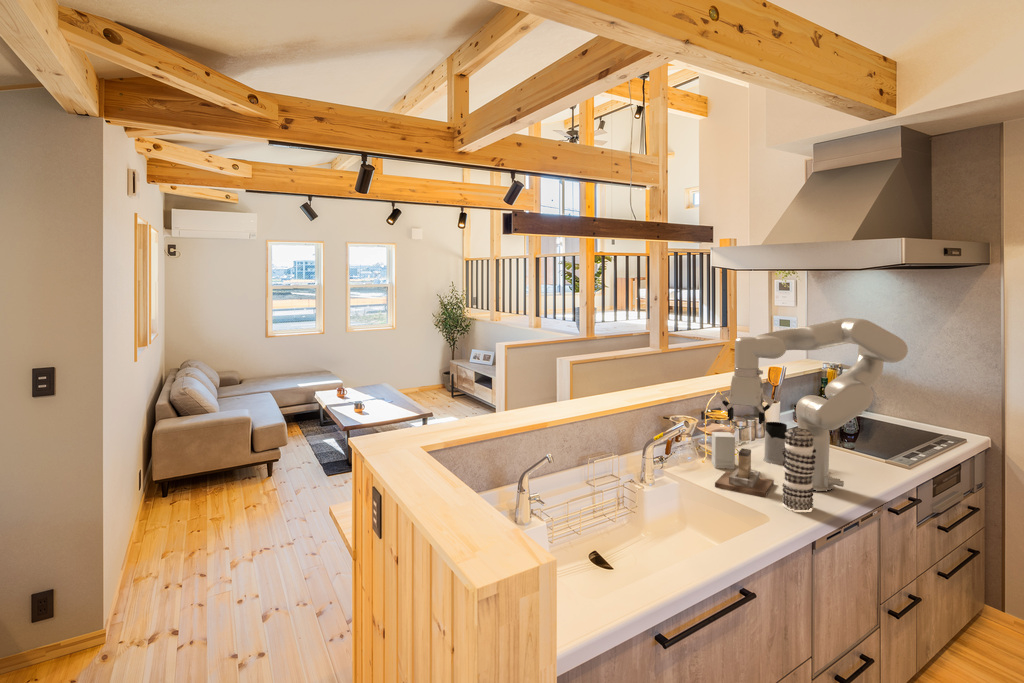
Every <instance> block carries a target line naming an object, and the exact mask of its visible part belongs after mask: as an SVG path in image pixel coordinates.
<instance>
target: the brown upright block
mask: <svg viewBox="0 0 1024 683" xmlns="http://www.w3.org/2000/svg"><path fill="white" fill-rule="evenodd" d="M737 464H738V465H737V466H738V467H737V468H738V477H740V478H745V479H749V478H750V477H751V470H752V469H751V468H752V449H749V448H748V449H747V448H740V450H739V451H738V463H737Z"/></svg>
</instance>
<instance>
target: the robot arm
mask: <svg viewBox="0 0 1024 683" xmlns="http://www.w3.org/2000/svg"><path fill="white" fill-rule="evenodd" d="M847 344H852V345H857V348H858V350H857V353H858V354H857V360H856V361H855V363H854V364H853V365H852V366H851V367H850V368H848V369H847V370H846V371H844V372H843V373H841V374H840V375H838V376H837V377H836V378H834V379H832V380H831V381H830V382H828V383H827V385H826V386H825V388H824V395H825V397H826V398H825V397H821V396H819V395H815V394H814V395H812V394H809V395H805V396H803V397H801V398H800V399H799V400H798V401H797V403H796V405H795V406H796V407H795V417H796V422H797V423H796V424H797V428H803V429H807V430H809V431H810V432H811V433H812V434H813V435H814V436H815V437H813V446H814V449H815V450H816V452H815V453H813V452H812V455H814V456H815V457H816V458H815V459H812V460H814V461H815V464H813V465H812V466H813V467H814V468H815V469H814V470H813V471H814V474H813V475H812V483H813V485H812V487H813V489H814V490H816V491H815V492H817V491H826V490H831V489H832V490H833V489H834V486H837V487H841V488H843V487H844V484H845V483H844V482H845V481H844V480H841V478H836V477H832V476H831V473H830V470H829V467H830V466H829V465H830V443H831V442H830V440H831V437H830V431H834V430H837V429H839V428H841V427H843V426H844V425H846V424H848V423H849V422H850V421H852V420H854V418H857V416H859V415H861V414H862V413H863V412H865V411H866V410H867V409H868V408H869V407H870V406H871V404H872V402H873V400H874V392H873V390H872V387H873V386H874V385H875V384H877V383H878V381H880V378H881V377H882V374H883V372H884V371H883V369H884V363H889V364H894V363H899V362H901V361H903V360H904V359H905V358H907V355H908V352H909V350H908V345H907V343H906V342H905V341H904V339H902V338H901V337H900V336H898V335H897V334H894V333H892V332H890V331H889V330H886V329H885V328H884V327H881V326H879V325H878V324H876V323H874V322H872V321H870V320H868V319H864V318H853V317H847V318H846V317H845V318H839V319H834V320H830V321H826V322H821V323H816V324H810V325H806V326H800V327H799V326H798V327H793V328H787V329H781V330H775V331H771V332H766V333H765V332H764V333H762V334H759V335H756V336H755V337H753V336H740V337H737V338H735V340H734V375H732V378H731V382H730V388H729V389H730V390H729V391H728V392H725V393H723V394H720V395H719V398H720V400H721V402H722V404H723V406H725V407H726V410H727V418H728V421H732V420H734V407H733V406H734V405H737V406H745V407H756V408H757V410H758V411H759V412H758V424H759V425H762V424H763V423H764V422H765V419H766V413H765V412H766V411H768V410H769V409H770V408H771V406H772V405H773V404H774V402H775V400H774V399H772V398H771V397H770V396H767V395H765V394H764V390H763V388H764V387H763V380H762V376H760V375H764V371H763V370H761V369H760V367H759V364H760V363H759V362H760V361H759V360H760V359H771V360H775V359H779V358H782V357H783V356H784V355H785V353H786V351H815V350H816V351H817V350H818V351H819V350H822V349H826V348H832V347H835V346H841V345H847ZM759 358H760V359H759ZM727 397H729V401H728V400H727ZM764 401H765V402H767V404H766V405H765V406H764V404H763V402H764ZM832 490H831V491H832ZM826 492H827V491H826Z"/></svg>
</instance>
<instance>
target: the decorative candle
mask: <svg viewBox="0 0 1024 683" xmlns="http://www.w3.org/2000/svg"><path fill="white" fill-rule="evenodd" d="M785 434H786V442H785V445H784V446H782V450H783V452H782V454H783V456H784V457H783V461H784V462H783V464H782V466H783V468H782V470H783V472H784V477H783V483H782V495H781V496H782V497H781V498H782V499H781V501H782V505H783V506H784V507H786V508H790V509H794V510H809V509H810V508H813V507H814V498H813V496H814V491H813V490H814V489H813V487H812V485H813V483H812V475H813V474H814V471H813V470H814V469H815V468H814V467H813V466H812V465H813V464H815V461H814V460H812V459H815V458H816V457H815V456H814V455H812V452H813V453H815V452H816V450H815V449H814V446H813V437H815V436H814V435H813V434H812V433H811V432H810V431H809V430H807V429H803V428H798V427H792V428H788V430H787V432H785ZM785 448H786V449H785ZM785 452H786V454H785ZM785 459H786V460H785ZM783 506H782V507H783ZM784 507H783V508H784Z"/></svg>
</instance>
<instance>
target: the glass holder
mask: <svg viewBox="0 0 1024 683" xmlns="http://www.w3.org/2000/svg"><path fill="white" fill-rule="evenodd" d="M787 429H788V425H787V424H786V423H784V422H778V421H770V422H769V421H768V422H765V429H764V457H763V458H762V459H763V461H764V462H765V461H766V462H765V463H768V464H771V463H772V464H773V465H783V462H784V461H783V457H784V456H783V454H782V452H783V450H782V446H784V445H785V442H786V434H785V432H787V431H788V430H787ZM785 449H786V448H785ZM785 454H786V452H785ZM785 460H786V459H785Z"/></svg>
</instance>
